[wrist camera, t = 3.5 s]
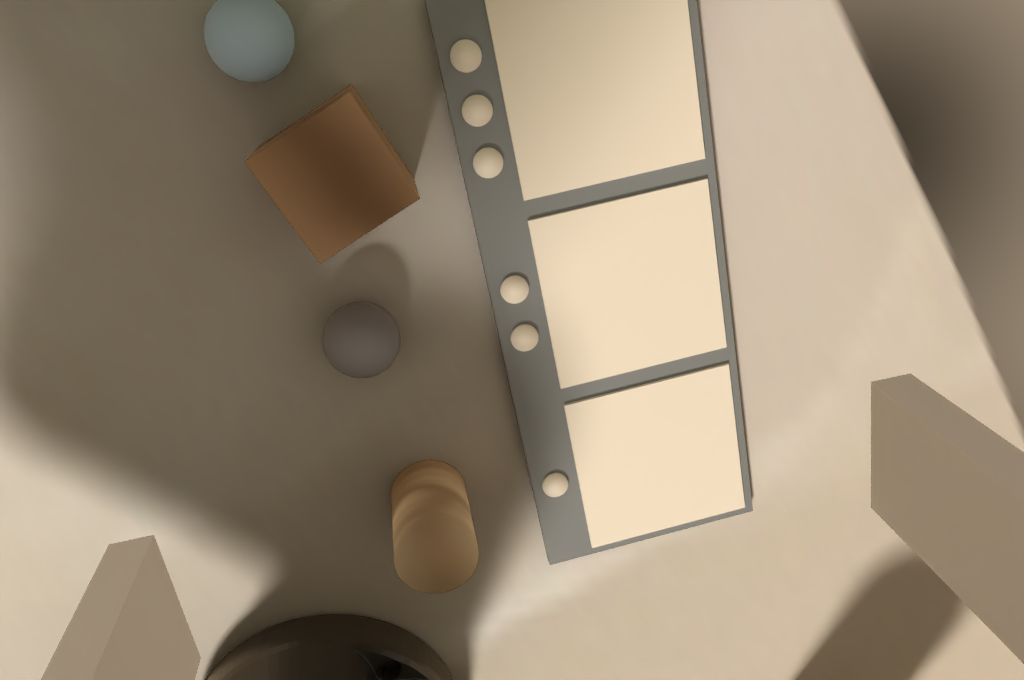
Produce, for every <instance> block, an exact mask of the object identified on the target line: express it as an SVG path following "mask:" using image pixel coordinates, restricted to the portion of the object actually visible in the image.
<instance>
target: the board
mask: <svg viewBox="0 0 1024 680" xmlns="http://www.w3.org/2000/svg"><path fill="white" fill-rule="evenodd" d="M425 3H426V8H427V13H428V17H429V22H430V26H431V31H432V35H433V40H434V44H435V49H436V53H437V58H438V62H439V67H440V72H441V76H442V81H443V85H444V90H445V94H446V99H447V103H448V108H449V112H450V117H451V122H452V126H453V131H454V135H455V140H456V144H457V149H458V153H459V158H460V162H461V167H462V171H463V176H464V181H465V185H466V190H467V194H468V199H469V203H470V208H471V212H472V217H473V221H474V226H475V231H476V235H477V240H478V244H479V249H480V253H481V258H482V262H483V267H484V271H485V276H486V280H487V285H488V290H489V294H490V299H491V303H492V308H493V312H494V317H495V321H496V326H497V330H498V335H499V340H500V344H501V349H502V353H503V358H504V362H505V367H506V371H507V376H508V380H509V385H510V390H511V394H512V399H513V403H514V408H515V412H516V417H517V421H518V426H519V430H520V435H521V439H522V444H523V449H524V453H525V458H526V462H527V467H528V471H529V476H530V480H531V485H532V489H533V494H534V499H535V503H536V508H537V512H538V517H539V521H540V526H541V530H542V535H543V539H544V544H545V548H546V553H547V558H548V561H549V564H550V565H552V564H556V563H559V562H563V561H567V560H570V559H574V558H578V557H582V556H585V555H589V554H593V553H597V552H600V551H604V550H608V549H612V548H615V547H619V546H623V545H627V544H630V543H634V542H638V541H642V540H645V539H649V538H653V537H657V536H660V535H664V534H668V533H672V532H675V531H679V530H683V529H687V528H690V527H694V526H698V525H701V524H705V523H709V522H713V521H716V520H720V519H724V518H728V517H731V516H735V515H739V514H743V513H746V512H750V511H753V508H752V499H751V490H750V480H749V471H748V462H747V453H746V444H745V435H744V426H743V417H742V408H741V399H740V390H739V380H738V371H737V362H736V353H735V344H734V335H733V326H732V317H731V308H730V299H729V290H728V280H727V271H726V262H725V253H724V244H723V235H722V226H721V217H720V208H719V199H718V189H717V180H716V171H715V162H714V153H713V144H712V135H711V126H710V117H709V108H708V99H707V89H706V80H705V71H704V62H703V53H702V44H701V35H700V26H699V17H698V8H697V0H425Z"/></svg>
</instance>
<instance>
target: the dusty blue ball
mask: <svg viewBox="0 0 1024 680" xmlns="http://www.w3.org/2000/svg"><path fill="white" fill-rule="evenodd" d="M204 41H205V45H206V48H207V51H208V53H209V55H210V57H211V58H212V60H213V61H214V63H215V64H216V65H217V66H218V67H219V68H220V69H221V70H222V71H223V72H225V73H226V74H227V75H229V76H231V77H233V78H235V79H238V80H241V81H245V82H263V81H266V80H269V79H272V78H274V77H275V76H277V75H278V74H280V73H281V72H282V71H283V70H284V69H285V68H286V66H287V65H288V63H289V62H290V60H291V58H292V55H293V52H294V46H295V35H294V29H293V26H292V23H291V21H290V19H289V17H288V15H287V13H286V12H285V10H284V9H283V8H282V7H281V6H280V5H279V4H278V3H277V2H276V1H275V0H217V1H216V2H215V3H214V4H213V5H212V6H211V8H210V10H209V11H208V14H207V16H206V19H205V23H204Z"/></svg>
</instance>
